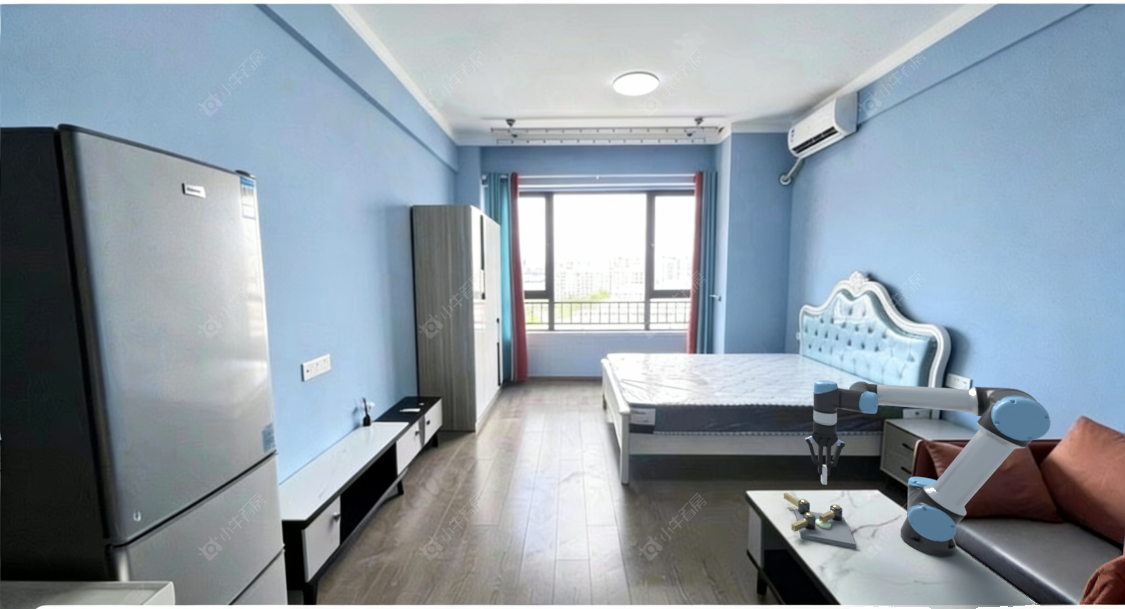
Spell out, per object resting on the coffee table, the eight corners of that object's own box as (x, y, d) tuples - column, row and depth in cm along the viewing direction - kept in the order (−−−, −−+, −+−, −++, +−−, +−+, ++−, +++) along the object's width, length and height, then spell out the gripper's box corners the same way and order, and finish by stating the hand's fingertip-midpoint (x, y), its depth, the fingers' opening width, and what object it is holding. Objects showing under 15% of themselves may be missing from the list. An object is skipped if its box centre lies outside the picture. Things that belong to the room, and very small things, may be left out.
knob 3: (834, 514, 167) (834, 502, 166) (844, 519, 163) (844, 507, 163) (815, 521, 162) (816, 509, 161) (826, 527, 158) (826, 515, 158)
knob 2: (807, 522, 162) (807, 510, 161) (817, 527, 158) (817, 515, 158) (788, 530, 156) (788, 518, 156) (798, 536, 153) (798, 523, 153)
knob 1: (812, 514, 167) (812, 502, 167) (804, 515, 166) (804, 504, 166) (788, 499, 178) (788, 488, 178) (781, 501, 177) (781, 490, 177)
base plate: (843, 521, 165) (844, 514, 165) (855, 548, 148) (855, 540, 148) (794, 512, 171) (794, 505, 171) (800, 537, 155) (800, 530, 155)
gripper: (843, 420, 158) (841, 481, 160) (803, 416, 163) (802, 475, 165) (847, 427, 151) (846, 490, 153) (806, 423, 156) (805, 484, 158)
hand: (823, 482), depth 159 cm, fingers closed
